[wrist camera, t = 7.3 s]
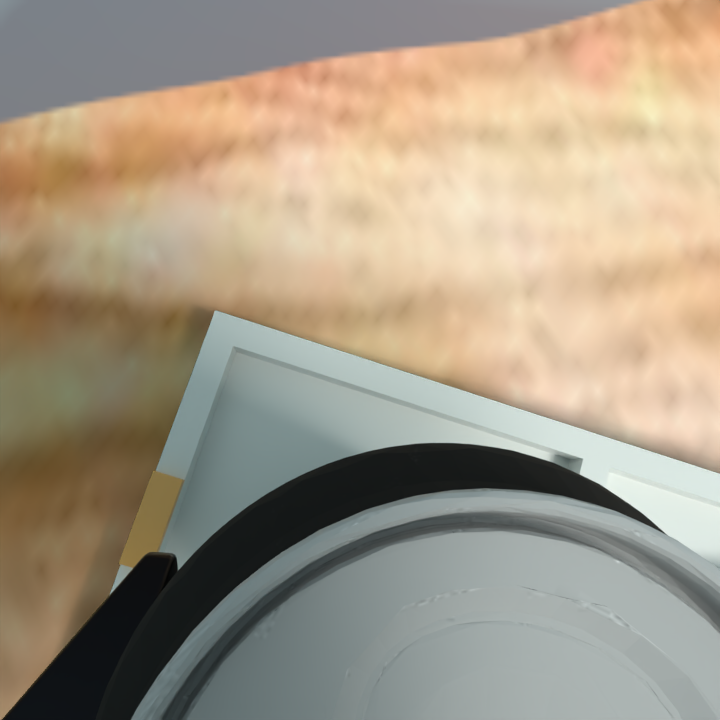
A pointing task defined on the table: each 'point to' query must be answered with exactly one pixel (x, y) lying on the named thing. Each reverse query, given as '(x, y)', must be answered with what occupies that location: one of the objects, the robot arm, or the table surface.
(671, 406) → the table surface
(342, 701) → the beverage can
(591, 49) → the table surface
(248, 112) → the table surface
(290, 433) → the white divided tray
